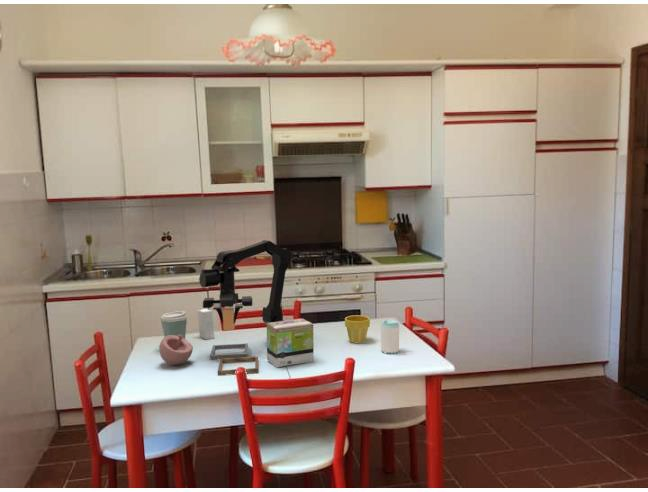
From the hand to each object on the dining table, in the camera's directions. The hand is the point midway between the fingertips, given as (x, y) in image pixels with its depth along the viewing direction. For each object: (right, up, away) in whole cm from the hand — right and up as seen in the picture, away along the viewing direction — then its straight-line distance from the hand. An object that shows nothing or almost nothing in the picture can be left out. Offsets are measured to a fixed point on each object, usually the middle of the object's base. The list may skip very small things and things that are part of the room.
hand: (228, 323), depth 225 cm
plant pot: (+51, -9, +15) cm, 54 cm away
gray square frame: (0, -12, +2) cm, 12 cm away
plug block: (0, -2, 0) cm, 2 cm away
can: (+63, -11, 0) cm, 64 cm away
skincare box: (-14, -10, +25) cm, 30 cm away
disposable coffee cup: (-23, -12, +9) cm, 27 cm away
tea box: (+24, -13, -9) cm, 29 cm away
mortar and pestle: (-18, -14, -10) cm, 25 cm away
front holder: (+6, -14, -15) cm, 21 cm away
